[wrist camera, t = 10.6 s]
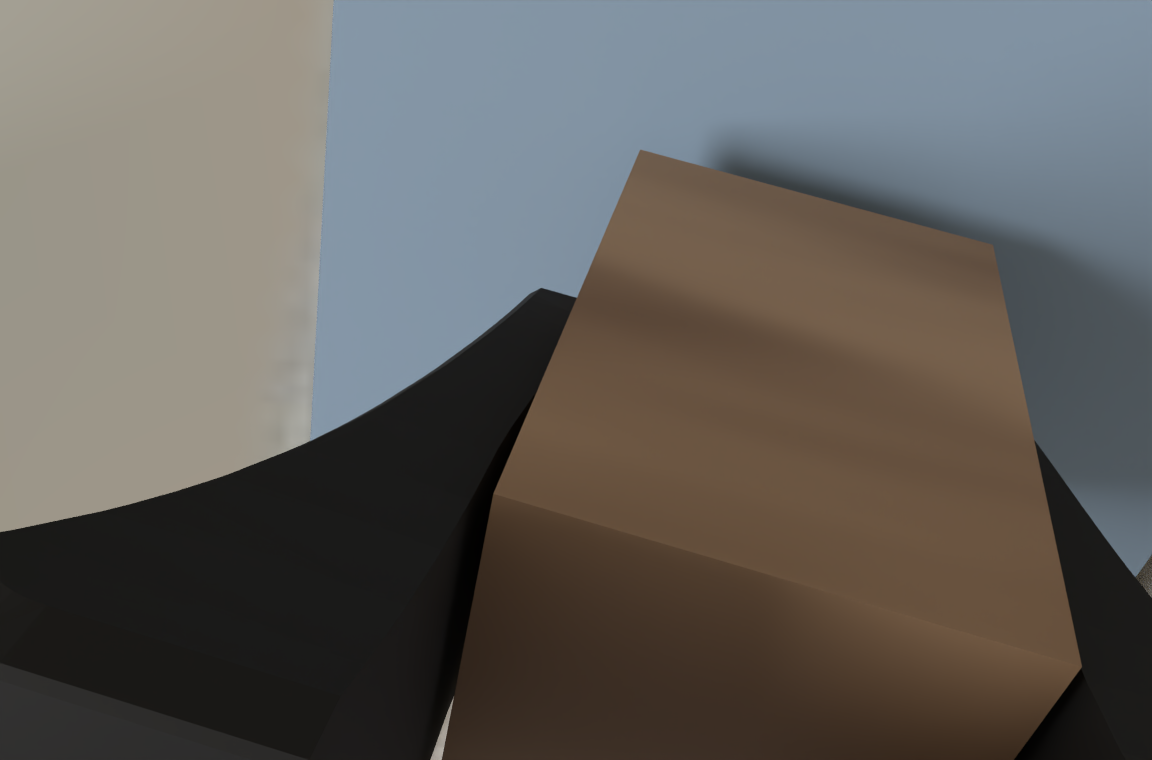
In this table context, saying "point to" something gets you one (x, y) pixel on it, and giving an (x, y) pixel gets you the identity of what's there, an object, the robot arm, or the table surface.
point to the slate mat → (750, 175)
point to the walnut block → (769, 500)
